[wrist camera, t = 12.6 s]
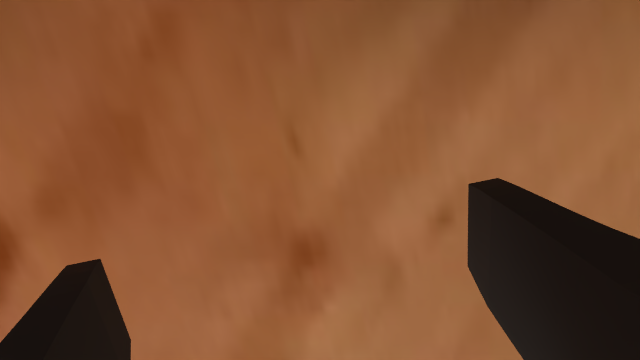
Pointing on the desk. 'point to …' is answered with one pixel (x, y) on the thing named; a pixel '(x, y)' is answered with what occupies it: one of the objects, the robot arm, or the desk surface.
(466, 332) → the desk surface
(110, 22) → the desk surface
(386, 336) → the desk surface
